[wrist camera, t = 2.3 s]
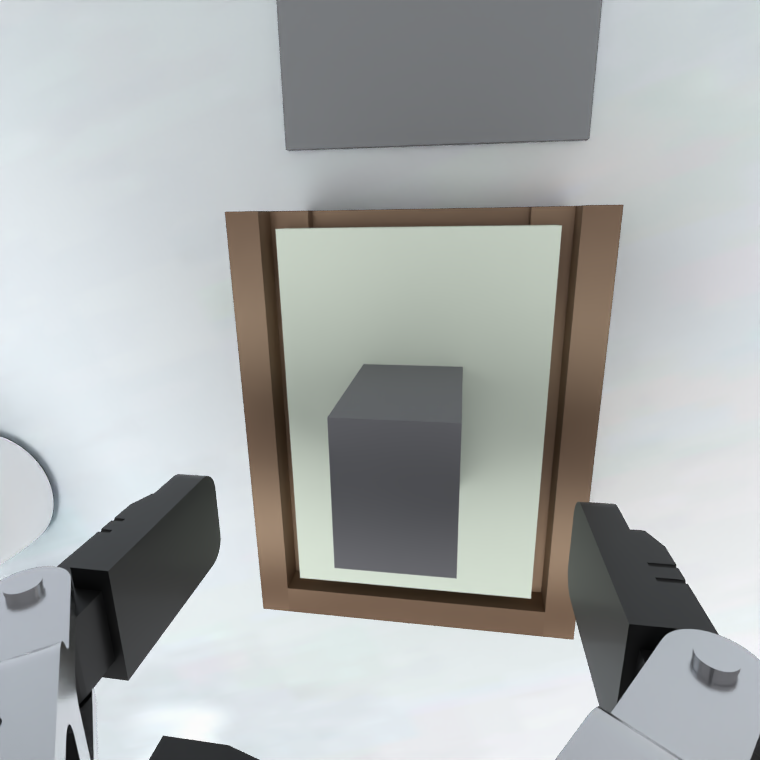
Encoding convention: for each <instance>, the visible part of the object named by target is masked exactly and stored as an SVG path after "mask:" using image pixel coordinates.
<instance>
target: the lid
mask: <svg viewBox="0 0 760 760" xmlns="http://www.w3.org/2000/svg"><path fill="white" fill-rule="evenodd" d="M275 230H276V244H277V258H278V272H279V286H280V300H281V314H282V328H283V342H284V356H285V370H286V385H287V399H288V413H289V427H290V441H291V455H292V469H293V483H294V497H295V511H296V526H297V540H298V554H299V568H300V578H308V579H319V580H330V581H341V582H352V583H363V584H374V585H385V586H397V587H408V588H419V589H430V590H441V591H452V592H463V593H474V594H485V595H496V596H508V597H519V598H530V599H531V590H532V578H533V566H534V554H535V542H536V530H537V518H538V506H539V494H540V482H541V470H542V458H543V447H544V435H545V423H546V411H547V399H548V387H549V375H550V363H551V351H552V339H553V327H554V315H555V303H556V291H557V279H558V267H559V255H560V243H561V231H562V225H502V226H422V227H342V228H283V229H275Z"/></svg>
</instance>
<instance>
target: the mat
mask: <svg viewBox="0 0 760 760" xmlns="http://www.w3.org/2000/svg"><path fill="white" fill-rule="evenodd" d="M601 7H602V0H277V15H278V31H279V47H280V63H281V78H282V94H283V110H284V126H285V142H286V150H289V151H291V150H319V149H348V148H376V147H404V146H433V145H461V144H489V143H517V142H546V141H574V140H588V139H589V135H590V124H591V114H592V103H593V92H594V82H595V71H596V60H597V50H598V39H599V28H600V18H601Z"/></svg>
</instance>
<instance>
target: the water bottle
mask: <svg viewBox="0 0 760 760" xmlns="http://www.w3.org/2000/svg"><path fill="white" fill-rule="evenodd" d="M52 514H53V494H52V489H51V486H50V483H49V480H48V478H47V476H46V474H45V472H44V471H43V469H42V468H41V466H40V465H39V463H38V462H37V461H36V460H35V459H34V458H33V457H32V456H31V455H30V454H29V453H28V452H27V451H26V450H24V449H23V448H22V447H20V446H19V445H17V444H16V443H14V442H12V441H10V440H8V439H6V438H3V437H0V565H1V564H2V563H4V562H6V561H7V560H9V559H10V558H12V557H13V556H15V555H16V554H18V553H19V552H21V551H22V550H23V549H25V548H26V547H28V546H29V545H30V544H31V543H33V542H34V541H35V540H36V539H38V538H39V537H40V536H41V535H42V534H43V533H44V531H45V530H46V528H47V527H48V525H49V523H50V521H51V518H52Z"/></svg>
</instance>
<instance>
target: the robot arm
mask: <svg viewBox="0 0 760 760" xmlns="http://www.w3.org/2000/svg"><path fill="white" fill-rule="evenodd" d="M219 548H220V528H219V519H218V509H217V500H216V491H215V485H214V481H213V479H212V478H211V477H209V476H198V475H183V474H177V475H175V476H174V477H173V478H171V479H170V480H169V481H168V482H167V483H166V484H165V485H163V486H162V487H161V488H160V489H159V490H158V491H157V492H155V493H154V494H151V495H149V496H147V497H145V498H143V499H141V500H139V501H137V502H135V503H133V504H131V505H129V506H128V507H127V508H126V509H125V510H123V511H122V512H121V513H120V514H119V515H117V516H116V517H115V519H114V521H110V522H109V523H108V524H107V525H106V526H104V527H103V528H102V530H101V532H97V533H96V534H95V535H94V536H93V537H91V538H90V539H89V540H88V541H87V542H86V543H84V544H83V545H82V546H81V547H80V548H78V549H77V550H76V551H75V552H74V553H73V554H71V555H70V556H69V557H68V558H67V559H65V560H64V561H63V562H62V563H61V564H60V565H58V566H57V567H55V566H43V567H36V568H31V569H27V570H24V571H20V572H18V573H15V574H12V575H10V576H8V577H6V578H4V579H2V580H0V760H98V735H97V703H96V696H95V691H94V687H95V685H96V684H97V683H98V682H99V680H100V679H101V678H102V677H105V678H113V679H120V680H129V679H130V678H131V676H132V675H133V674H134V672H135V671H136V669H137V668H138V667H139V665H140V664H141V663H142V661H143V660H144V659H145V657H146V656H147V654H148V653H149V652H150V650H151V649H152V648H153V646H154V645H155V644H156V642H157V641H158V639H159V638H160V637H161V635H162V634H163V633H164V631H165V630H166V629H167V627H168V626H169V625H170V623H171V622H172V620H173V619H174V618H175V616H176V615H177V614H178V612H179V611H180V610H181V608H182V607H183V605H184V604H185V603H186V601H187V600H188V599H189V597H190V596H191V595H192V593H193V592H194V590H195V589H196V588H197V586H198V585H199V584H200V582H201V581H202V580H203V578H204V577H205V575H206V574H207V573H208V571H209V570H210V569H211V567H212V566H213V564H214V563H215V561H216V559H217V556H218V553H219ZM568 589H569V596H570V600H571V604H572V608H573V611H574V615H575V619H576V622H577V626H578V629H579V633H580V637H581V640H582V644H583V648H584V651H585V655H586V659H587V662H588V666H589V669H590V673H591V677H592V680H593V684H594V688H595V691H596V695H597V699H598V702H599V707H596V708H595V709H593V710H592V711H591V712H590V713H589V715H588V716H587V717H586V718H585V720H584V721H583V723H582V724H581V725H580V727H579V728H578V729H577V731H576V732H575V733H574V735H573V736H572V738H571V739H570V740H569V742H568V743H567V744H566V746H565V747H564V748H563V750H562V751H561V752H560V754H559V755H558V757H557V758H556V759H555V760H760V660H759V659H758V658H757V657H756V656H755V655H753V654H752V653H751V652H749V651H748V650H747V649H745V648H744V647H742V646H741V645H739V644H737V643H735V642H733V641H731V640H730V639H727V638H725V637H723V636H720V635H719V634H718V633H717V631H716V629H715V628H714V626H713V625H712V623H711V621H710V620H709V618H708V616H707V615H706V613H705V611H704V610H703V608H702V607H701V605H700V603H699V602H698V600H697V598H696V597H695V595H694V593H693V592H692V590H691V588H690V587H689V585H688V584H686V583H685V579H684V577H683V575H682V574H681V572H680V570H679V569H678V568H676V564H675V562H674V561H673V559H672V557H671V556H670V554H669V552H668V551H667V549H666V547H665V546H663V545H662V544H661V543H660V542H658V541H657V540H656V539H655V538H653V537H652V536H651V535H649V534H648V533H647V532H646V531H642V530H630V529H629V527H628V525H627V523H626V522H625V520H624V518H623V516H622V514H621V512H620V510H619V508H618V507H617V505H616V504H606V503H591V502H577V503H576V505H575V509H574V516H573V525H572V534H571V543H570V553H569V562H568ZM149 760H259V759H257V758H254V757H252V756H250V755H248V754H246V753H244V752H242V751H239V750H237V749H235V748H233V747H231V746H229V745H223V744H216V743H209V742H202V741H196V740H189V739H182V738H175V737H168V736H163V737H162V739H161V740H160V742H159V744H158V745H157V747H156V749H155V751H154V752H153V754H152V756H151V757H150V759H149Z"/></svg>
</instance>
